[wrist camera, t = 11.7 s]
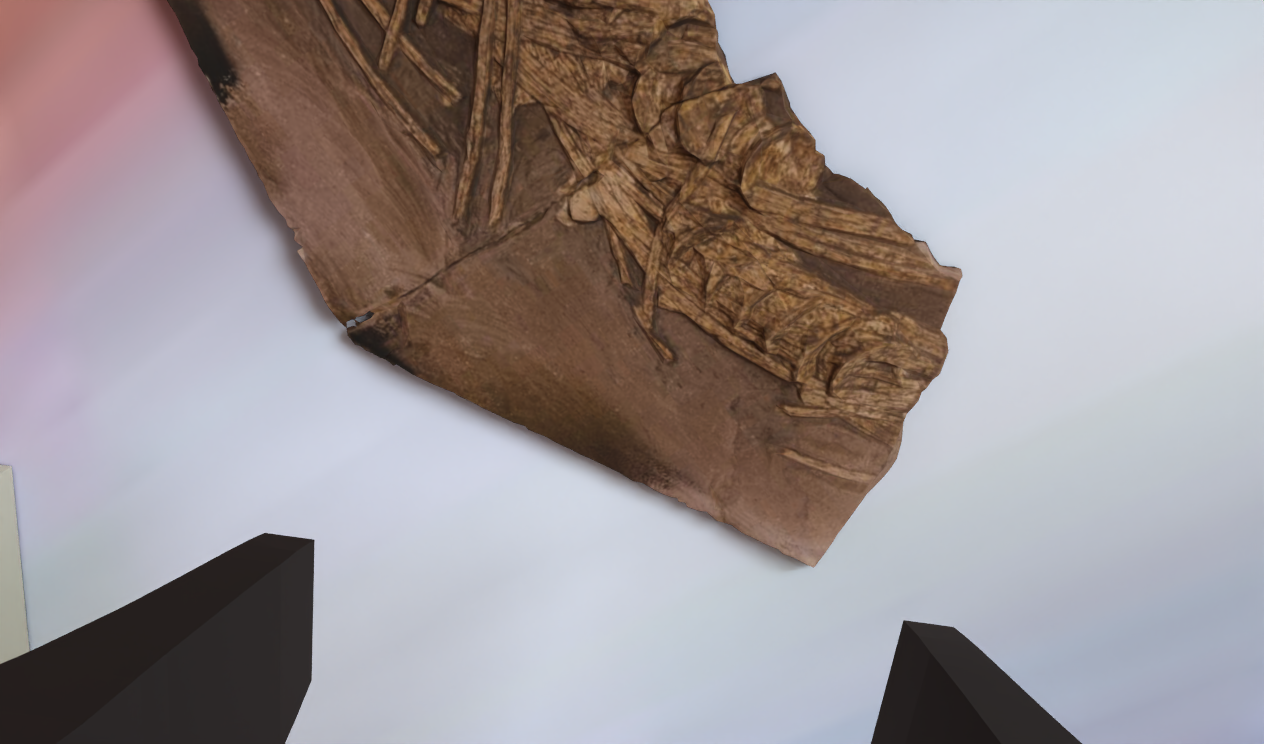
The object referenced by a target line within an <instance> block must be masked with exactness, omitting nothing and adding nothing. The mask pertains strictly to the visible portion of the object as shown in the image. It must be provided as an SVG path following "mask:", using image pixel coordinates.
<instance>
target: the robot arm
mask: <svg viewBox="0 0 1264 744" xmlns="http://www.w3.org/2000/svg"><path fill="white" fill-rule="evenodd" d="M313 581H314V540H312V539H305V538H297V537H290V536H283V535H275V534H268V533H264V534H261V535H259V536H257V537H255V538H253V539H250V540H248V541H246V542H244V543H242V544H240V545H239V546H237V547H235V548H233V549H231V550H229V551H227V552H225V553H223V554H221V555H220V556H218V557H216V558H214V559H212V560H210V561H208V562H207V563H205V564H203V565H201V566H199V567H197V568H196V569H194V570H192V571H190V572H188V573H186V574H184V575H183V576H181V577H179V578H177V579H175V580H173V581H171V582H169V583H168V584H166V585H164V586H162V587H160V588H158V589H156V590H154V591H152V592H151V593H149V594H147V595H145V596H143V597H141V598H139V599H137V600H135V601H134V602H132V603H130V604H128V605H126V606H124V607H122V608H120V609H118V610H116V611H114V612H112V613H109V614H107V615H105V616H103V617H101V618H99V619H97V620H95V621H93V622H91V623H89V624H87V625H84V626H82V627H80V628H78V629H76V630H74V631H72V632H70V633H68V634H66V635H64V636H61V637H59V638H57V639H55V640H53V641H51V642H49V643H47V644H45V645H43V646H41V647H38V648H36V649H34V650H32V651H29V652H27V653H25V654H23V655H20V656H18V657H16V658H13V659H11V660H8V661H6V662H4V663H1V664H0V744H285V742H286V739H287V737H288V735H289V733H290V730H291V728H292V726H293V724H294V721H295V719H296V717H297V714H298V712H299V709H300V707H301V704H302V702H303V700H304V697H305V695H306V692H307V690H308V688H309V685H310V683H311V676H312V629H313ZM871 744H1082V743H1081V742H1080V741H1079V740H1077V739H1076V738H1075V737H1074V736H1073V735H1072V734H1071V733H1070V732H1068V731H1067V730H1066V729H1065V728H1064V727H1063V726H1062V725H1061V724H1060V723H1059V722H1057V721H1056V720H1055V719H1054V718H1053V717H1052V716H1051V715H1050V714H1049V713H1048V712H1047V711H1045V710H1044V709H1043V708H1042V707H1041V706H1040V705H1039V704H1038V703H1037V702H1036V701H1035V700H1034V699H1033V698H1031V697H1030V696H1029V695H1028V694H1027V693H1026V692H1025V691H1024V690H1023V689H1022V688H1021V687H1020V686H1019V685H1018V684H1016V683H1015V682H1014V681H1013V680H1012V679H1011V678H1010V677H1009V676H1008V675H1007V674H1006V673H1005V672H1004V671H1003V670H1002V669H1000V668H999V667H998V666H997V665H996V664H995V663H994V662H993V661H992V660H991V659H990V658H989V657H988V656H986V655H985V654H984V653H983V652H982V651H981V650H980V649H979V648H978V647H977V646H975V645H974V644H973V643H972V642H971V641H970V640H969V639H967V638H966V637H965V636H964V635H963V634H961V633H960V632H959V631H958V630H957V629H955V628H954V627H948V626H941V625H934V624H926V623H919V622H912V621H903V625H902V629H901V632H900V636H899V640H898V644H897V647H896V651H895V655H894V659H893V663H892V666H891V670H890V674H889V678H888V681H887V685H886V689H885V693H884V697H883V700H882V704H881V708H880V712H879V716H878V719H877V723H876V727H875V731H874V734H873V738H872V742H871Z"/></svg>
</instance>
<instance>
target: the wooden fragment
mask: <svg viewBox="0 0 1264 744" xmlns="http://www.w3.org/2000/svg"><path fill="white" fill-rule="evenodd" d="M167 1H168V3H169V4H170V6H171V7H172V9H173V10H174V12H175V13H176V15H177V17H178V20H179V22H180V24H181V26H182V28H183V30H184V33H185V35H186V37H187V39H188V41H189V44H190V46H191V48H192V50H193V51H194V53H195V54H196V56H197V58H198V64H199V66H200V68H201V69H202V71H203V73H204V74H205V76H206V77H207V79H208V81H209V83H210V85H211V88H212V90H213V91H214V93H215V94H216V96H217V99H218V101H219V103H220V105H221V107H222V109H223V110H224V112H225V114H226V115H227V117H228V119H229V121H230V123H231V125H232V127H233V129H234V131H235V133H236V135H237V137H238V140H239V141H240V142H241V144H242V145H243V147H244V148H245V150H246V153H247V155H248V157H249V159H250V161H251V162H252V164H253V165H254V167H255V169H256V171H257V173H258V176H259V178H260V179H261V181H262V182H263V183H264V186H265V189H266V191H267V194H268V196H269V198H270V200H271V202H272V203H273V204H274V206H275V207H276V209H277V210H278V211H279V212H280V214H281V215H282V216H283V217H284V218H285V219H286V222H287V225H288V227H289V228H291V229H292V230H293V231H294V233H295V237H294V240H295V241H296V242H297V243H299V244H300V245H301V246H302V248H301V249H299V250H298V251H297V252H298V253H299V255H300V256H301V258H302V259H303V261H304V262H305V264H306V266H307V268H308V270H309V272H310V274H311V275H312V277H313V279H314V281H315V283H316V284H317V286H318V288H319V290H320V292H321V294H322V296H323V298H324V300H325V302H326V304H327V305H328V307H329V309H330V310H331V311H332V312H333V314H334V315H335V316H336V317H337V319H338V320H339V321H340V322H341V323H342V324H343V325H344V326H345V327H346V328H347V324H346V322H347V321H349V320H355V318H356V317H359V316H363V315H364V314H366V313H367V312H369V311H370V312H373V313H374V315H373V316H372V317H371V318H370V319H368V320H366V321H363V322H361V323H360V322H358V321H356V320H355V323H356V325H357V327H356V326H351V327H349V328H347V333H348V336H349V338H350V339H351V340H352V341H353V343H354V344H355V345H358V346H361V347H362V348H364V349H365V350H366V351H369V352H371V353H373V354H375V355H377V356H378V357H380V358H383V359H386V360H387V361H388V362H390V363H391V364H392V365H393V366H394V365H396V364H397V365H399V366H400V367H402V368H403V369H405V370H407V371H408V372H410V373H411V374H413V375H415V376H417V377H419V378H422V379H424V380H426V381H428V382H430V383H432V384H434V385H436V386H439V387H441V388H444V389H446V390H449V391H451V392H454V393H455V394H457V395H458V396H460V397H462V398H465V399H467V400H469V401H471V402H473V403H475V404H477V405H479V406H480V407H482V408H484V409H487V410H489V411H491V412H493V413H495V414H497V415H499V416H501V417H503V418H506V419H508V420H510V421H512V422H514V423H517V424H521V425H524V426H526V427H527V428H528V430H531V431H533V432H536V433H538V434H541V435H543V436H545V437H547V438H549V439H551V440H553V441H555V442H556V443H558V444H561V445H563V446H565V447H567V448H569V449H571V450H573V451H575V452H577V453H579V454H581V455H583V456H586V457H588V458H590V459H592V460H594V461H596V462H599V463H601V464H603V465H605V466H607V467H609V468H611V469H613V470H615V471H617V472H619V473H621V474H623V475H624V476H626V477H628V478H629V479H631V480H633V481H636V482H641V483H644V484H645V485H647V486H649V487H650V488H652V489H654V490H656V491H658V492H660V493H662V494H664V495H667V496H670V497H675V498H678V501H679V502H684V503H686V505H687V507H689V508H692V509H695V510H698V511H706V512H708V514H709V515H711V516H712V517H713V518H714V519H716V520H717V521H720V522H724V523H727V524H730V525H733V526H734V527H735V528H736V529H738V530H739V531H740V532H742V533H744V534H746V535H748V536H750V537H752V538H754V539H756V540H758V541H760V542H762V543H764V544H767V545H769V546H771V547H774V548H776V549H779V550H780V551H781V552H782V554H785V555H788V556H791V557H793V558H796V559H797V560H799V561H801V562H803V563H805V564H807V565H809V566H811V567H815V566H816V564H817V563H818V561H819V560H820V559H821V557H822V556H823V555H824V553H825V552H826V550H827V549H828V548H829V546H830V545H831V544H832V542H833V540H834V539H835V537H836V535H837V534H838V532H839V531H840V530H841V529H842V527H843V526H844V525H845V523H846V522H847V520H848V519H849V518H850V516H851V515H852V514H853V512H854V511H855V509H856V508H857V507H858V505H859V504H860V503H861V501H862V500H863V498H864V497H865V496H866V494H867V493H868V492H869V491H870V490H871V489H872V488H873V487H874V486H875V485H876V484H877V483H878V482H879V481H880V480H881V479H882V478H883V477H884V475H885V474H886V473H887V472H888V470H889V469H890V468H891V467H892V465H893V464H894V462H895V460H896V459H897V455H898V452H899V448H900V445H901V440H902V431H903V421H904V419H905V417H906V414H907V413H908V412H909V411H910V410H911V409H912V408H913V406H914V405H915V404H916V403H917V402H918V400H919V398H920V395H921V392H922V391H923V390H925V389H926V388H927V387H928V385H929V384H930V382H931V381H932V380H933V379H934V378H935V377H937V376H938V375H939V374H940V372H941V369H942V367H943V364H944V361H945V359H946V356H947V354H948V345H947V338H946V336H945V335H944V334H943V333H942V331H941V330H940V329H941V326H942V324H943V321H944V319H945V316H946V314H947V311H948V309H949V306H950V304H951V302H952V300H953V298H954V296H955V293H956V291H957V287H958V284H959V281H960V279H961V278H962V271H961V269H959V268H956V267H947V266H941V265H939V263H938V262H937V261H936V259H935V258H934V257H933V255H932V253H931V251H930V249H929V247H928V245H927V243H926V242H924V241H919V240H914V239H913V237H912V235H911V234H910V233H908V232H906V231H904V230H902V229H901V228H900V227H899V226H898V225H897V224H896V223H895V221H894V219H893V217H892V215H891V214H890V212H889V211H888V209H887V208H886V206H885V205H884V204H883V203H882V202H881V201H880V200H879V199H878V198H876V197H875V196H874V195H873V194H872V193H871V191H870V190H869V189H868V188H866V189H865V188H863V187H862V186H860V185H859V184H858V183H856V182H855V181H853V180H852V179H850V178H847V177H845V176H842V175H839V174H833V173H832V172H831V170H830V169H829V168H828V167H827V166H825V156H824V155H823V154H821V153H819V152H818V151H816V150H815V141H816V140H815V139H814V138H813V136H812V135H811V133H810V132H809V131H808V130H807V129H806V128H805V127H804V126H803V125H802V124H801V122H800V121H799V119H798V118H797V116H796V115H795V113H794V112H793V111H792V109H791V108H790V102H789V100H788V97H787V94H786V92H785V89H784V87H783V84H782V82H781V80H780V78H779V77H778V75H777V74H776V73H773V74H770V75H767V76H764V77H761V78H758V79H755V80H752V81H749V82H746V83H742V84H735V83H734V81H733V79H732V78H731V76H730V74H729V70H728V66H727V62H726V57H725V54H724V52H723V51H722V49H721V47H720V45H719V43H718V31H717V29H716V23H715V14H714V12H713V10H712V8H711V6H710V4H709V2H708V0H167Z"/></svg>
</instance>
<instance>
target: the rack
mask: <svg viewBox="0 0 1264 744" xmlns="http://www.w3.org/2000/svg"><path fill="white" fill-rule="evenodd" d="M27 652H29V641H28V630H27V620H26V610H25V600H24V589H23V579H22V569H21V558H20V548H19V538H18V527H17V517H16V507H15V496H14V486H13V476H12V466H6V465H0V664H1V663H4V662H6V661H8V660H11V659H13V658H16V657H18V656H20V655H23V654H25V653H27Z"/></svg>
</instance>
